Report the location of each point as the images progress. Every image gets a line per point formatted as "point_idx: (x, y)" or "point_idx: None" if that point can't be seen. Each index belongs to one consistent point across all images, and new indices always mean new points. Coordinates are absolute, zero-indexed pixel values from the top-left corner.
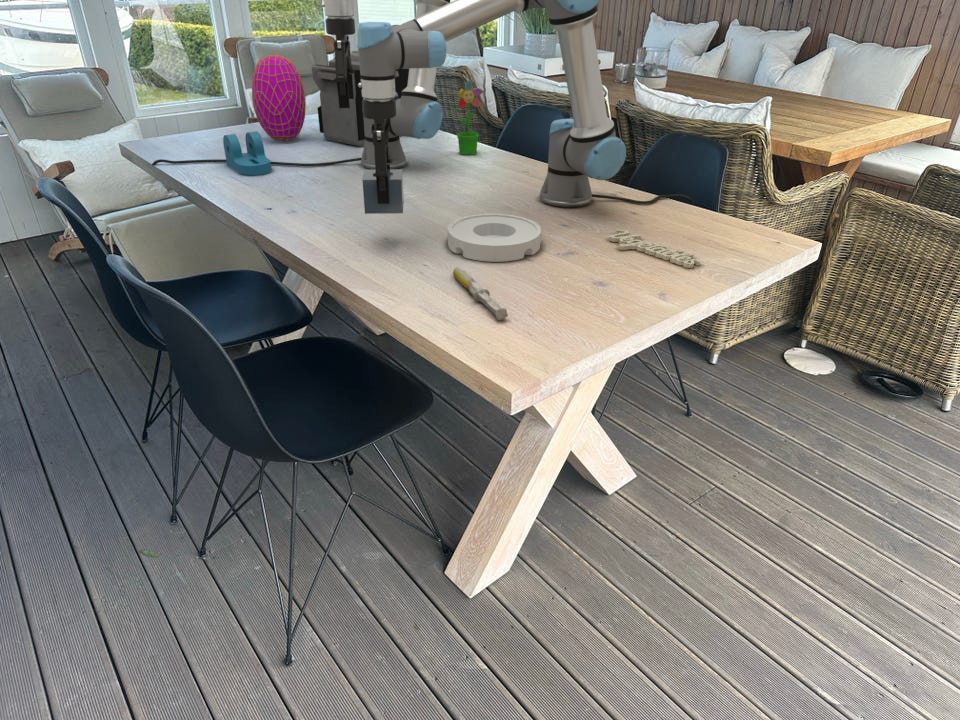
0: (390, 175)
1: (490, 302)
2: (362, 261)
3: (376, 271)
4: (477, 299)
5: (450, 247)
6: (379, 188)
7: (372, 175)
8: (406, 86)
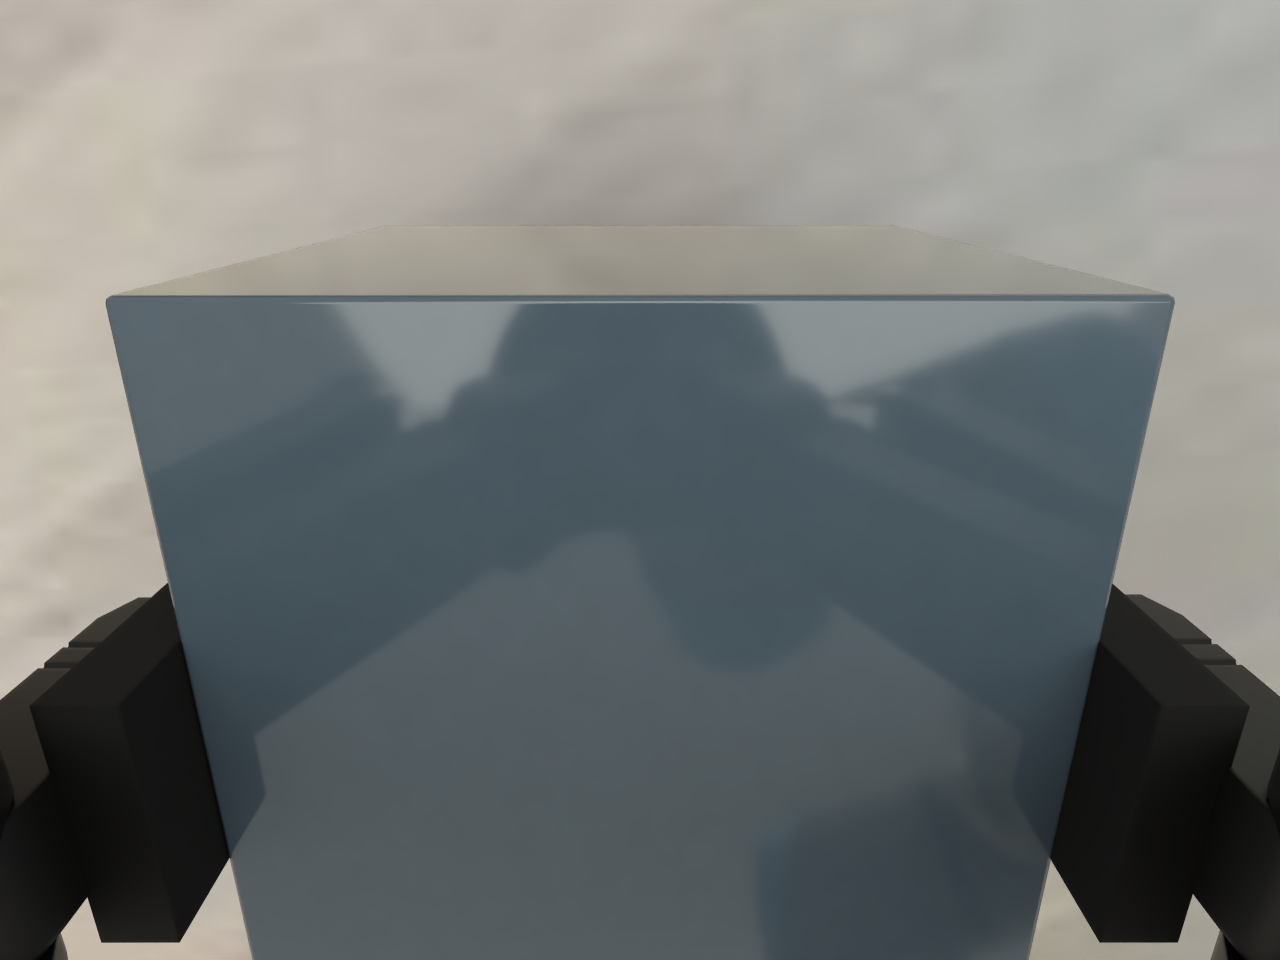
0: (552, 886)
1: None
2: (207, 175)
3: (17, 309)
4: None
5: None
6: (94, 623)
7: (546, 532)
8: None
